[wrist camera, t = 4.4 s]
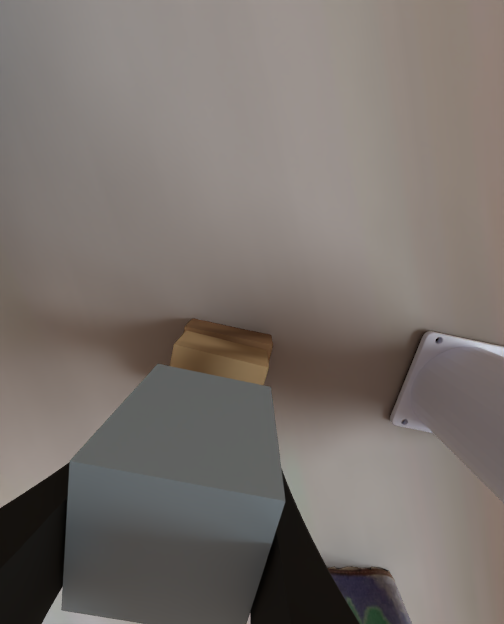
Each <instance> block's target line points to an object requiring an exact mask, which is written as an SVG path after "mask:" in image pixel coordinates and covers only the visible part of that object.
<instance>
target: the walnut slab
mask: <svg viewBox="0 0 504 624" xmlns="http://www.w3.org/2000/svg"><path fill="white" fill-rule="evenodd" d="M186 330H187V331H191V332H195V333H199V334H203V335H207V336H211V337H215V338H219V339H223V340H227V341H231V342H235V343H239V344H243V345H247V346H251V347H255V348H259V349H263V350H267V357H268V363H269V359H270V355H271V351H272V348H273V342H272V337H271V335H269V334H264V333H259V332H255V331H250V330H245V329H241V328H236V327H231V326H226V325H222V324H217V323H212V322H208V321H203V320H198V319H194V318H192V319H191V320H190V321H189V322H188V323H187V325H186V326H185V327H184V333H185V332H186ZM184 333H183V334H184Z"/></svg>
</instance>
